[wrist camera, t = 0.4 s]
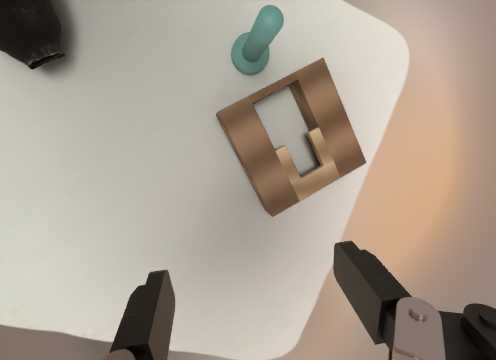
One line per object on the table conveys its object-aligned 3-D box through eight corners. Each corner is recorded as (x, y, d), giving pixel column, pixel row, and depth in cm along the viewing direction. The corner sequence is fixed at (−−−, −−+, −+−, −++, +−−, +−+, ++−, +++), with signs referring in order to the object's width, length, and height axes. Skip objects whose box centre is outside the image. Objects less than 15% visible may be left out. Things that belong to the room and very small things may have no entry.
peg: (225, 46, 36) (237, 4, 25) (256, 30, 36) (281, -17, 25) (241, 80, 37) (260, 54, 26) (272, 65, 37) (302, 33, 27)
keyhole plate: (215, 114, 37) (217, 111, 33) (312, 65, 38) (323, 57, 35) (266, 210, 40) (272, 216, 37) (352, 161, 42) (366, 162, 38)
